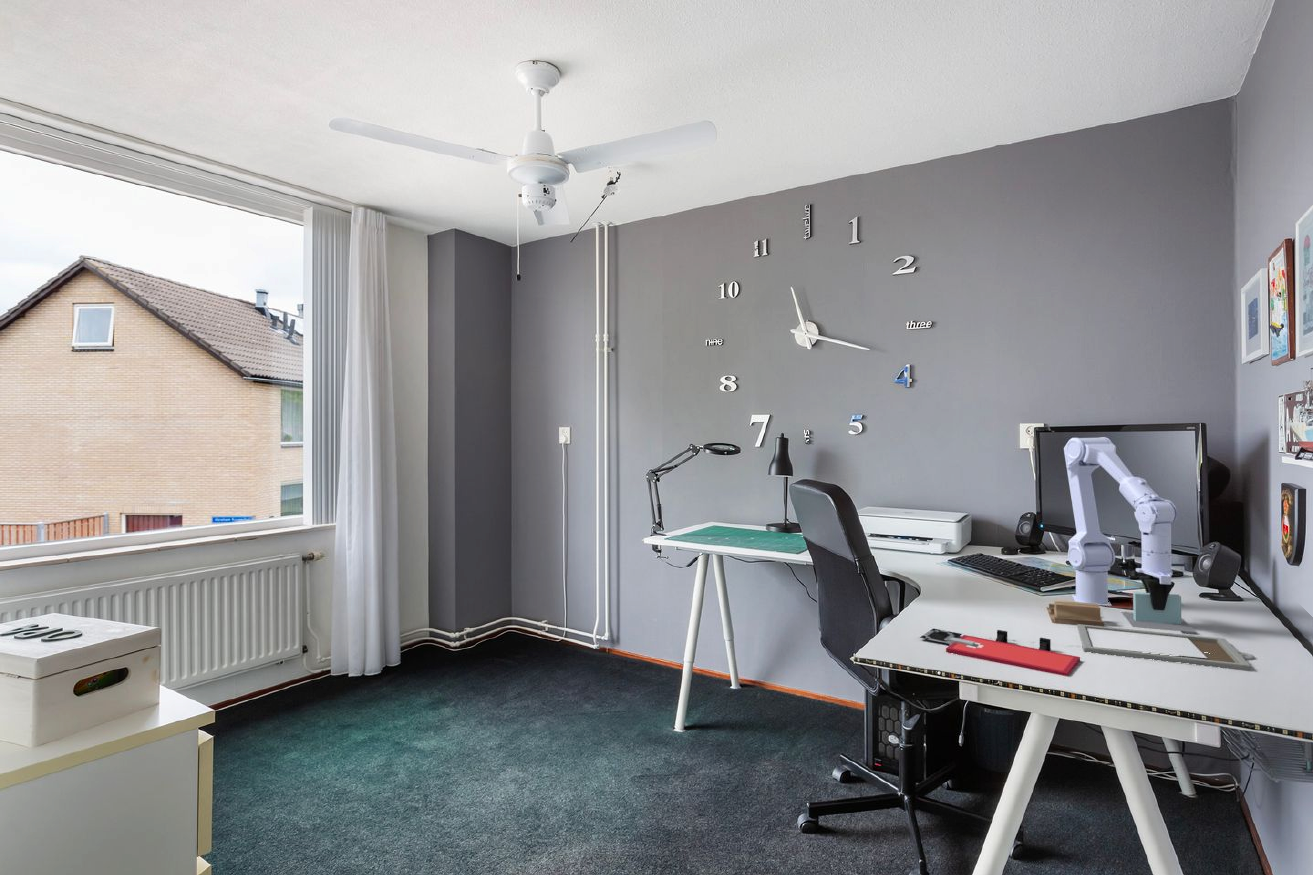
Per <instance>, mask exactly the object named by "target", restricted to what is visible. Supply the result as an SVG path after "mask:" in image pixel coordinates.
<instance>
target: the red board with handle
mask: <svg viewBox="0 0 1313 875" xmlns="http://www.w3.org/2000/svg"><path fill="white" fill-rule="evenodd" d="M960 636H961V637H960ZM919 638H920V639H923V640H924V639H925V640H929V641H935V642H939V643H944V644H949V645H948V646H947V647H946V648H945V652H949V653H948V654H951V653H953V654H952V655H956V654H957V656H961V657H968V658H972V659H977V660H983V661H988V662H992V663H998V664H1003V665H1008V666H1012V667H1018V668H1023V669H1027V670H1033V671H1038V672H1043V673H1047V674H1053V675H1058V676H1064V677H1069V675H1070V674H1071V673H1072V671H1073V670H1074V669H1076V668H1075V666H1077V665H1078V664H1079V663H1080V662H1081V657H1080V656H1076V655H1071V654H1067V653H1066V654H1065V653H1060V652H1055V651H1051V648H1052V647H1051V644H1052V643H1051V641H1052V640H1051V639H1050V638H1045V637H1040V638H1039V648H1035V647H1029V646H1024V645H1019V644H1015V643H1008V631H1007V630H1001V629H997V630H996V639H995V640H993V639H987V638H983V637H977V636H974V635H973V636H971V635H967V634H963V633H959V632H955V631H954V632H953V631H949V630H944V629H938V628H932V629H930V630H929V631H927V632H926V633H924V634H923V635H921V636H919ZM1078 662H1079V663H1078Z"/></svg>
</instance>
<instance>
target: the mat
mask: <svg viewBox="0 0 1313 875" xmlns="http://www.w3.org/2000/svg"><path fill="white" fill-rule="evenodd" d="M1121 614H1122V615H1123V616H1124V617H1125V618H1126V620H1127V621H1128V623H1129V625H1131V627H1133V628H1138V629H1139V628H1140V629H1141V628H1142V629H1151V630H1164V631H1175V632H1180V633H1181V634H1185V633H1186V634H1185V635H1198V632H1197V630H1195V629H1194V628H1193V627H1192V626H1191V625H1190V624H1189V623H1188V622H1187V621H1186V620H1185V619H1183V618H1182V617H1181V624H1170V623H1156V622H1142V621H1135V620H1134V618H1133V612H1127V611H1121Z"/></svg>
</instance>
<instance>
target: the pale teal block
mask: <svg viewBox="0 0 1313 875" xmlns="http://www.w3.org/2000/svg"><path fill="white" fill-rule="evenodd" d="M1132 594H1133V595H1132V596H1133V597H1132V600H1133V602H1132V603H1133V604H1132V607H1133V610H1132V613H1133V618H1134V620H1135V621H1142V622H1156V623H1170V624H1181V618H1182V596H1181V595H1179V594H1173V593H1172V594H1171V593H1169V595H1168V599H1167V602H1166V606H1165V609H1164V610H1154V609H1153V607H1152V604H1151V598H1150V593H1146V592H1141V591H1140V592H1138V591H1133V592H1132Z"/></svg>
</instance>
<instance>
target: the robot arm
mask: <svg viewBox="0 0 1313 875" xmlns="http://www.w3.org/2000/svg"><path fill="white" fill-rule="evenodd" d="M1063 453H1064V459H1065V466H1066V472H1067V479H1068V484H1069V491H1070V492H1069V493H1070V497H1071V503H1072V504H1071V505H1072V511H1073V517H1074V522H1075V523H1074V524H1075V530H1076V533H1075V534H1074V535H1073V536H1072V537H1071V538H1070V539H1069V540H1068V551H1067V559H1068V561H1069V564H1070V565H1071V566H1072V569H1075V594H1072V595H1071V596H1072V598H1073V599H1074V602H1082V603H1095V604H1098V605H1099V606H1106V607H1112V604H1111V601H1109V599H1108V598H1109V592H1108V591H1109V589H1108V588H1109V585H1108V584H1109V583H1108V581H1109V580H1108V579H1109V578H1108V577H1109V576H1108V575H1109V574H1108V571H1111V567H1112V566H1113V565H1114V564H1115V562H1116V552H1115V550H1114V549H1113V547H1112V545H1111V541H1110V540H1111V539H1109V537H1108V536H1106V535H1105V534H1103V533H1102V532H1101V528H1100V522H1099V515H1098V508H1097V504H1096V497H1095V491H1094V485H1093V479H1092V473H1093V472H1094V471H1095V470H1096V469H1098V468H1099V467H1100V466H1101V468H1103V469H1104V470H1105V471H1106V472H1107V474H1109V475H1110V476H1111V477H1112V478H1113V479H1114V480H1115V481H1116V482H1117V483H1118V485H1119V488H1118V491H1119V492H1120V493H1121V495H1122V496H1123V497H1124V498H1125V500H1126V501H1127V502H1128V503H1129V504H1130V505H1131V507H1132V508H1133V509H1134V510H1135V511H1134V512H1133V513H1134V514H1133V515H1134V517H1135V520H1136V522H1137V523H1138V529H1139V531H1140V532H1141V533H1140V534H1141V567H1140V568H1139V567H1137V568H1135V572H1136V573H1142V574H1145V575H1140V576H1139V579H1140V581H1141V583H1142V585H1143V588H1144V589H1145V593H1150V598H1151V604H1152V607H1153V609H1154V610H1164V609H1165V606H1166V602H1167V599H1168V595H1169V594H1171V591H1172V589H1173V588H1174V587H1175V584H1176V583H1175V582H1174V581H1172V576H1173V575H1174V574H1173V570H1172V524H1174V523H1175V522H1176V521H1177V519H1178V509H1177V507H1176V505H1175V504H1174V502H1173V501H1171V500H1169V499H1164V498H1163V497H1160V496H1159V494H1157V493H1156V491H1154V489H1152V488H1151V486H1149V484H1148V482H1147V480H1146V479H1145V478H1142V477H1139V476H1134V475H1133V474H1132V473H1131V471H1130V470H1129V469H1128V467H1127V466H1126V465H1125V463H1124V462H1123V461H1122V459H1121V458H1120V457H1119V455H1118V454H1117V446H1116V445H1115V444H1114V443H1113V442H1112V440H1111V439H1109V438H1108V437H1105V436H1102V437H1101V436H1100V437H1072V438H1070V439H1069V440H1068V441H1067V443H1066V444H1065V446H1064V447H1063ZM1088 543H1090V544H1088ZM1108 601H1109V602H1108Z"/></svg>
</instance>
